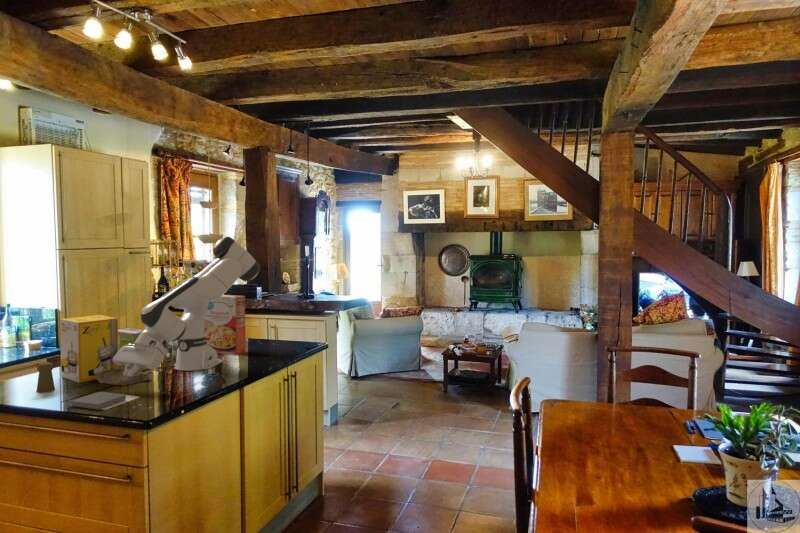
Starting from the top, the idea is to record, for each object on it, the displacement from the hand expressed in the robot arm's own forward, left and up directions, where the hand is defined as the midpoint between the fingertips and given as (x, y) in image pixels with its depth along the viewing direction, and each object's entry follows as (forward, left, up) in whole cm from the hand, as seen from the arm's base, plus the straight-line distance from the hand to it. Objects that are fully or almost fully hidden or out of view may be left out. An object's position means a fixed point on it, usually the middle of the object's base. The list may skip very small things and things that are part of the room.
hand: (126, 375), depth 202 cm
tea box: (-46, -43, -7) cm, 64 cm away
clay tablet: (-14, -17, -8) cm, 24 cm away
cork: (+7, -33, -7) cm, 34 cm away
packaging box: (-16, -36, -7) cm, 40 cm away
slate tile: (+8, +1, -6) cm, 10 cm away
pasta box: (-77, -13, -7) cm, 79 cm away
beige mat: (+11, +1, -7) cm, 13 cm away
